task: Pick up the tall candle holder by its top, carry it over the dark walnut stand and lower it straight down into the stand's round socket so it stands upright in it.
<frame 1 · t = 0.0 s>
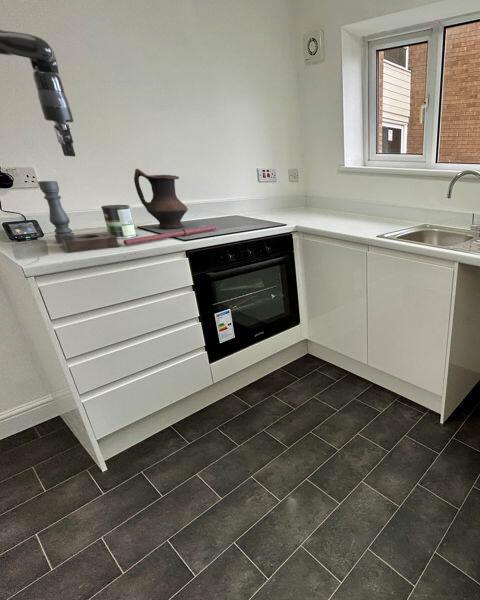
hand: (69, 156, 128), 35 cm above the countertop, tool pointing down, fingers open, 8 cm apart
red rod: (175, 237, 167), on the countertop
jug: (168, 227, 190), on the countertop
candle holder: (66, 242, 152), on the countertop
stand: (91, 246, 146), on the countertop
coffee can: (123, 237, 166), on the countertop
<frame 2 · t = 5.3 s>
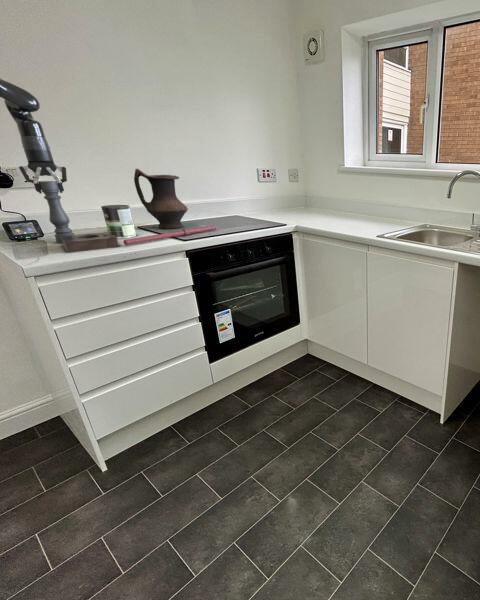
hand: (50, 192, 145), 21 cm above the countertop, tool pointing down, fingers closed on candle holder, 5 cm apart
candle holder: (66, 242, 152), on the countertop, touching gripper
everything else where it was.
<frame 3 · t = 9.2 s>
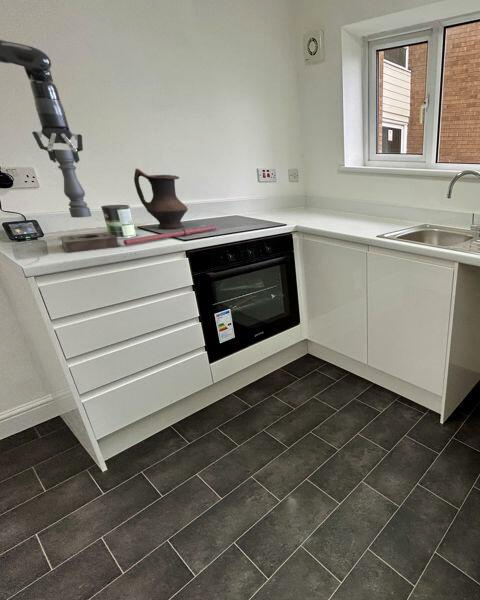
hand: (65, 162, 135), 33 cm above the countertop, tool pointing down, fingers closed on candle holder, 5 cm apart
candle holder: (81, 216, 142), point 12 cm above the countertop, touching gripper
everything else where it was.
when the fingers open (21 cm above the countertop, at t = 13.1 s): candle holder stays where it is, resting in stand.
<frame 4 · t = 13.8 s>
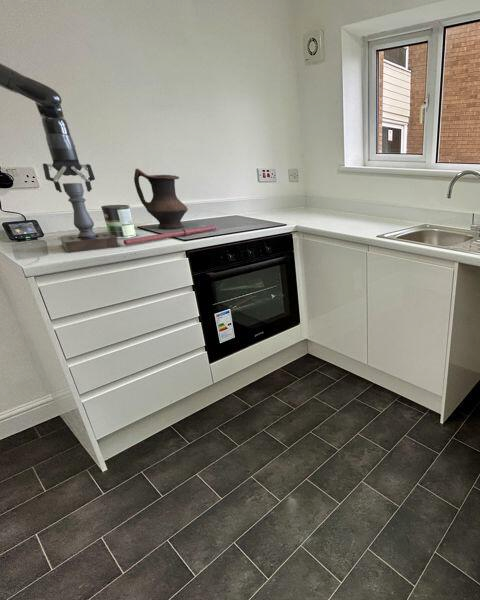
hand: (75, 191, 139), 22 cm above the countertop, tool pointing down, fingers open, 8 cm apart
candle holder: (90, 246, 146), resting in stand
everything else where it was.
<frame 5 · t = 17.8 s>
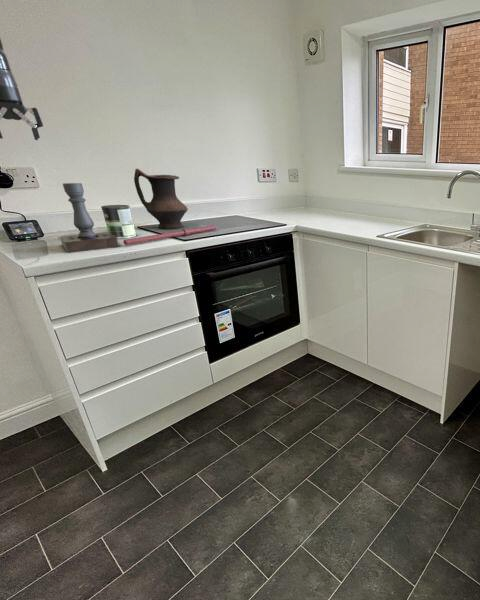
hand: (19, 139, 121), 40 cm above the countertop, tool pointing down, fingers open, 8 cm apart
nothing on the countertop moved.
at the end: candle holder 0.1 cm off-centre in the stand, point 0.0 cm above the stand's base; candle holder tilted 0°; the gripper is holding nothing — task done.
